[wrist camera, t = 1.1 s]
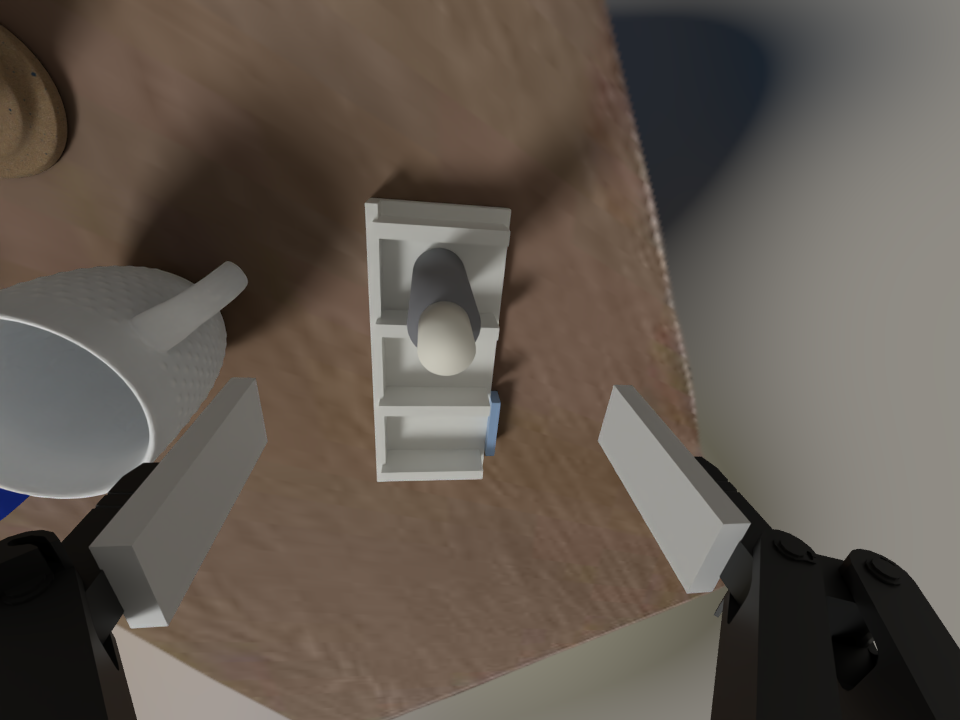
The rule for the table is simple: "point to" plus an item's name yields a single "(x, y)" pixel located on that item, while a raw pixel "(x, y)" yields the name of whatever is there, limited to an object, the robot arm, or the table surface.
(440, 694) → the table surface
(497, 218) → the white compartment tray
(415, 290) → the two-tone capped cylinder
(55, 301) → the mug
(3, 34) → the candle holder
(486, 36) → the table surface
